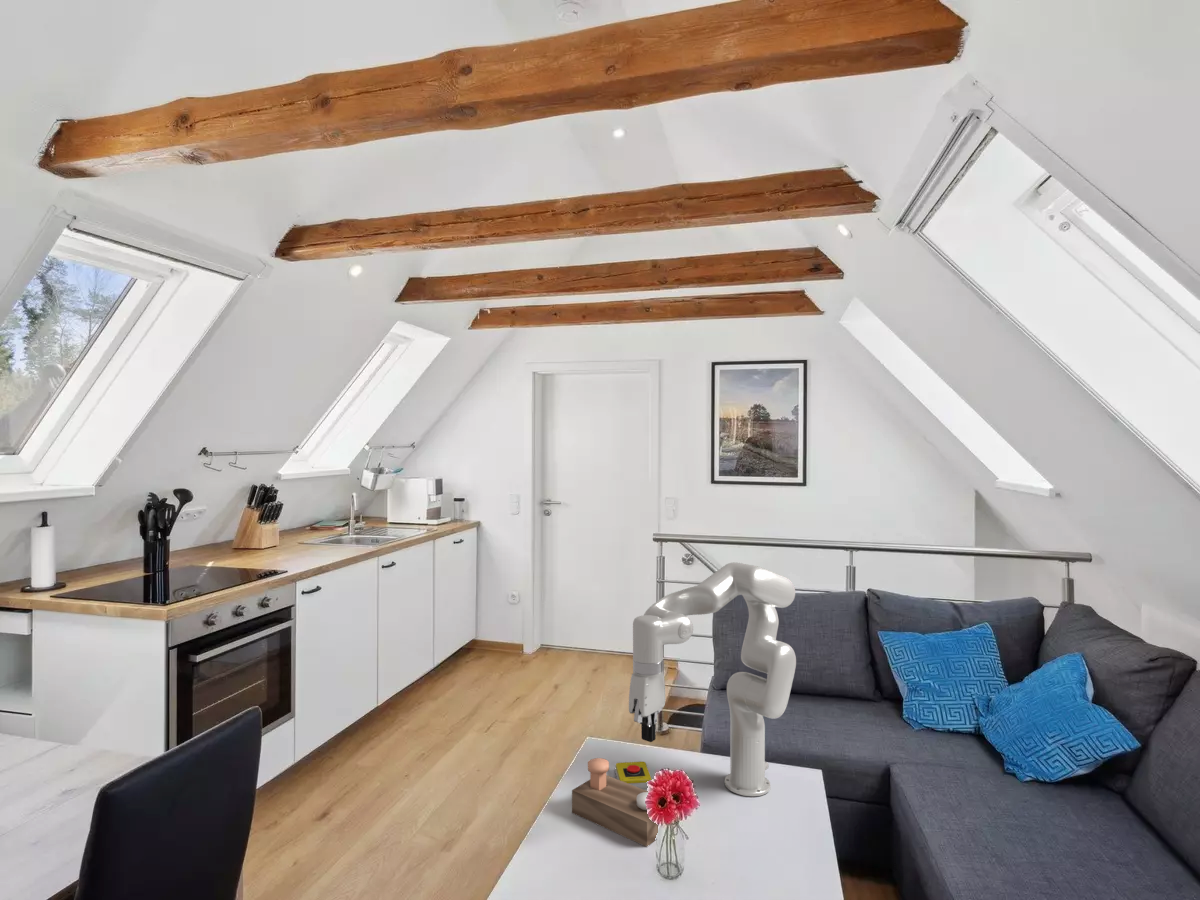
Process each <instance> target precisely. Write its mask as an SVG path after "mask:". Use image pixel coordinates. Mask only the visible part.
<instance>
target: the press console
mask: <svg viewBox="0 0 1200 900" xmlns="http://www.w3.org/2000/svg"><path fill="white" fill-rule="evenodd" d="M643 792H648V791H646V790H643V789H641V788H638V787H636V786H633V785H630V784H628V783H625V782H623V781H620V780H618V779H617V778H616V777H612V776H610V775H608V774H606V787H605V788H603V789H601V790H600V791H599V790H596V789H594V788H591V787H590V779H588V780H586V781H585V782H583V783H581V784H579V785H578V786H576V787H574V788H573V789H571V814H573V815H576V816H578V817H580V818H582V819H584V820H587V821H589V822H590V823H593V824H596V825H597V826H600V827H602V828H604V829H606V830H609V831H611V832H613V833H615V834H618V835H620V836H622V837H623V838H626V839H628V840H631V841H633V842H635V843H638V844H639V843H640V845H641V844H642V846H644V847H646V846H648V845H649V846H650V845H652V844H653V843H655V842H656V840H655V838H656V835H657V833H658V825H657V824H656V823H654V822H652V821H651V820H650V819H649V817H648V814H647V810H643V809H641V808H639V807H638V806H637V795H638V794H640V793H643ZM649 846H648V847H649Z"/></svg>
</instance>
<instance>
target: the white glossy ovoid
mask: <svg viewBox="0 0 1200 900" xmlns="http://www.w3.org/2000/svg"><path fill="white" fill-rule="evenodd" d="M648 793H649V792H643V793H640V794H638V795H637V806H638V807H639V808H641V809H643V810H647V809H646V804H645V799H646V797H647V795H648Z"/></svg>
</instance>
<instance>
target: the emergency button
mask: <svg viewBox="0 0 1200 900" xmlns="http://www.w3.org/2000/svg"><path fill="white" fill-rule="evenodd" d="M615 768H616V769H615ZM615 768H614V769H615V771H614V773H615V772H616V775H615V777H616V776H617V778H616V779H618V780H620V781H623V782H625V783H628V784H630V785H633V786H636V787H638V788H641V789H643V790H646V791H647V788H648V786H647V783H646V782H647V781H649V780H652V776H651V774H650V771H649V768H648V765H647V763H646V761H628V762H626V761H625V762H617V763H615Z"/></svg>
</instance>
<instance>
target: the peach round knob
mask: <svg viewBox="0 0 1200 900" xmlns="http://www.w3.org/2000/svg"><path fill="white" fill-rule="evenodd" d="M609 770H610V762H609V760H607V759H605V758H601V757H597V758H592V759H590V760H588V761H587V771H588V772H589V774H590V776H589V780H590V787H591V788H594V789H596V790H599V791H600V790H601V789H603V788H605V787H606V775H607V773H608V772H609Z"/></svg>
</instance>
